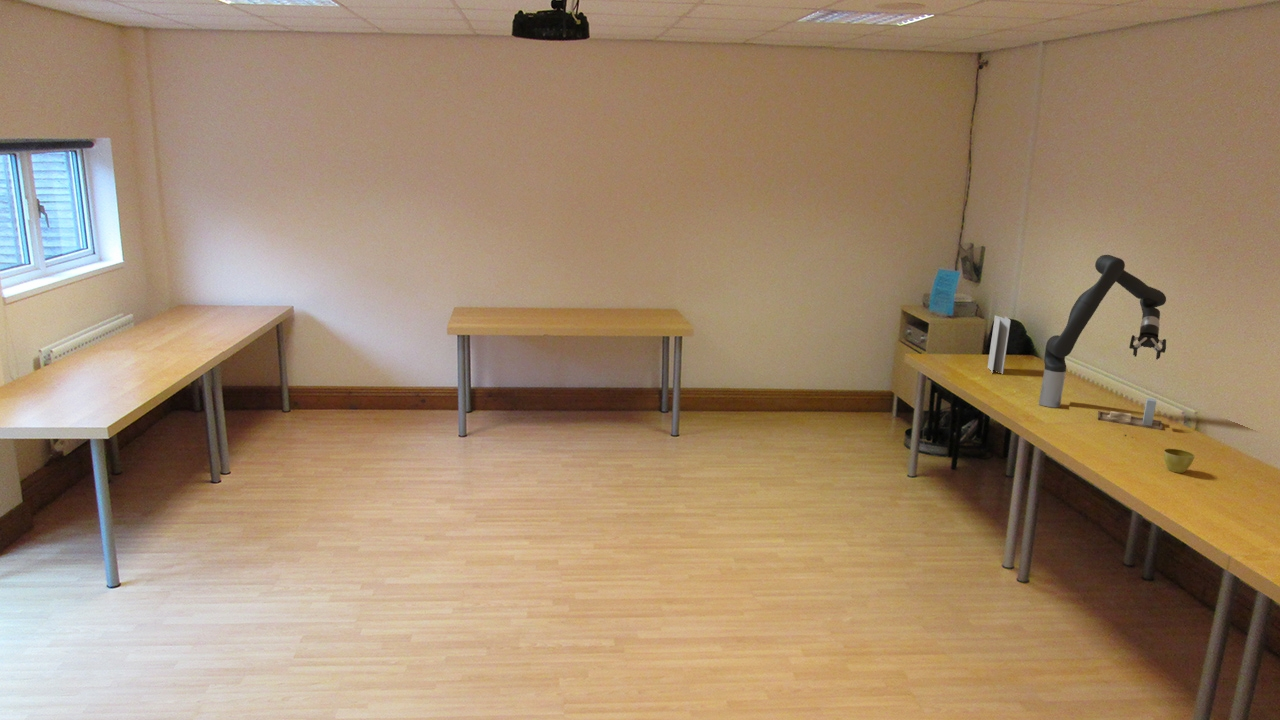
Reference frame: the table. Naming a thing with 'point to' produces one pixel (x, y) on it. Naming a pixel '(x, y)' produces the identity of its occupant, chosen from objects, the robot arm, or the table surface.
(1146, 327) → the robot arm
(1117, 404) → the table surface
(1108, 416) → the offcut stack
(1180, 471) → the green bowl
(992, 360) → the brochure
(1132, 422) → the brown serving tray
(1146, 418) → the blue-grey rectangular block
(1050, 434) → the table surface
